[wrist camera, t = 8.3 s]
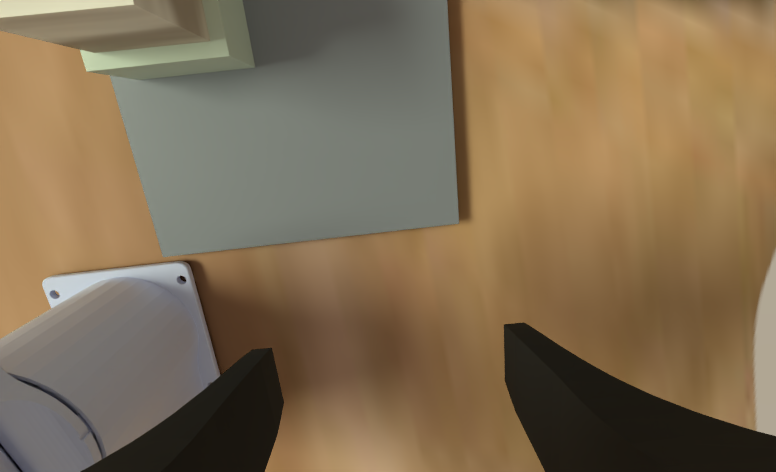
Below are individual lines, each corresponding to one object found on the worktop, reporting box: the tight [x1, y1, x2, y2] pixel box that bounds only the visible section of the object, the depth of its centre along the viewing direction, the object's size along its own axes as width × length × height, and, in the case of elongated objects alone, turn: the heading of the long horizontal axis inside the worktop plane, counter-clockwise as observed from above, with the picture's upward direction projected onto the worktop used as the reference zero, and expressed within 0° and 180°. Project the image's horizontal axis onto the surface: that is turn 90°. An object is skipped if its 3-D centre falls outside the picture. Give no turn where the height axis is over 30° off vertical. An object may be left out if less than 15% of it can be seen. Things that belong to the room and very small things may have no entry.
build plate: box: [110, 0, 459, 257], centre depth 19 cm, size 15×16×1 cm
